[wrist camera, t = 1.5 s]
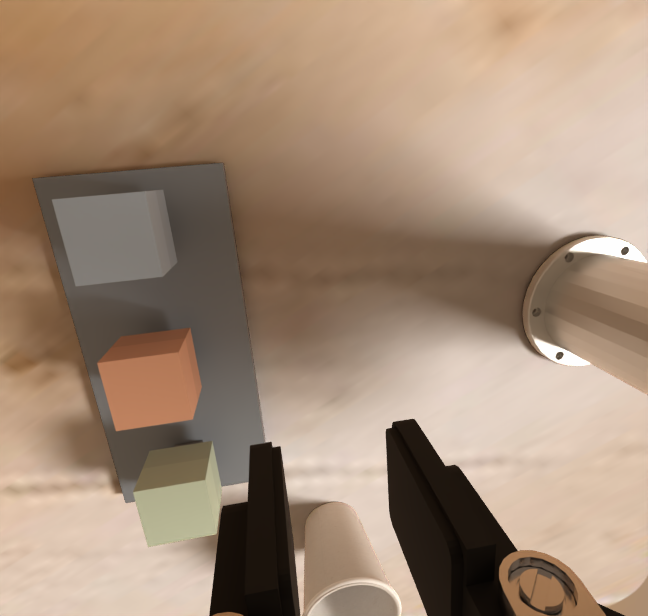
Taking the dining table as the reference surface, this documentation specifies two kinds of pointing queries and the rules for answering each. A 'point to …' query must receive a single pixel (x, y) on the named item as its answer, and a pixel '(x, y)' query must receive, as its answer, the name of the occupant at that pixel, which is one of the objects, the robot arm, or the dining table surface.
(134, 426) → the button terracotta
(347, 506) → the dixie cup
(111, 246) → the button slate
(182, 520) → the button sage
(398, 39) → the dining table surface
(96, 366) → the button board
